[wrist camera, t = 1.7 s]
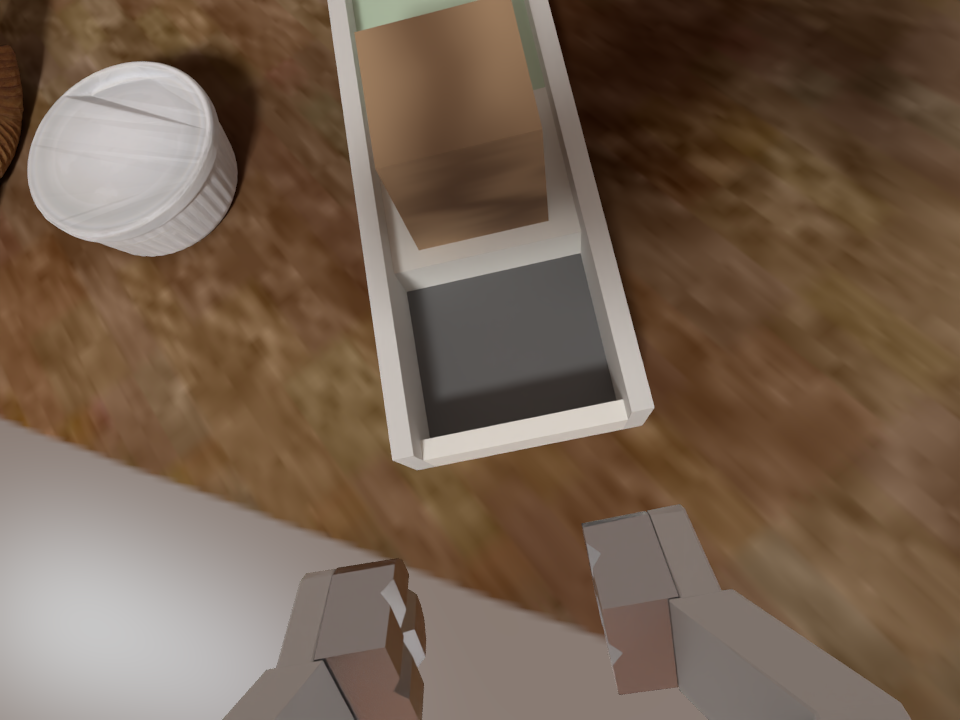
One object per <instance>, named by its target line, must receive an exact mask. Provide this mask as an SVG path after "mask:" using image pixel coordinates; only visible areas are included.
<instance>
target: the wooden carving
mask: <svg viewBox="0 0 960 720" xmlns="http://www.w3.org/2000/svg"><path fill="white" fill-rule="evenodd" d="M23 111H24V109H23V93H22V85H21V80H20V73H19V69H18V64H17V60H16V56H15V52H14V51H13V49H12V48H11V46H10V45H2V46H0V178H1V177H2V176H3V175H4V173H5V172H6V170H7V168H8V167H9V165H10V163H11V161H12V159H13V157H14V155H15V152H16V148H17V145H18V142H19V137H20V132H21V125H22V123H21V121H22V113H23Z"/></svg>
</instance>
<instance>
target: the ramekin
mask: <svg viewBox="0 0 960 720" xmlns="http://www.w3.org/2000/svg"><path fill="white" fill-rule="evenodd" d="M237 174H238V170H237V162H236V159H235V154H234V152H233V150H232V146H231V144H230V142H229V140H228V138H227V136H226V134H225V132H224V130H223V128H222V126H221V125H220V123H219V120H218V117H217V113H216V110H215V108H214V106H213V104H212V102H211V100H210V98H209V97H208V95H207V94H206V92H205V91H204V90H203V89H202V87H201V86H200V85H199V84H198V83H197V82H196V81H195V80H194V79H193V78H192V77H190V76H189V75H188V74H186V73H184V72H183V71H181V70H179V69H177V68H175V67H172V66H169V65H166V64H162V63H157V62H146V61H139V62H128V63H122V64H118V65H114V66H111V67H108V68H105V69H102V70H100V71H98V72H95V73H93V74H92V75H90V76H88V77H86V78H84V79H83V80H81V81H80V82H78V83H77V84H76V85H74V86H73V87H71V88H70V89H69V90H68V91H67V92H66V93H64V94H63V95H62V96H61V97H60V98H59V99H58V100H57V101H56V102H55V103H54V105H53V106H52V107H51V108H50V110H49V111H48V112H47V114H46V115H45V116H44V118H43V120H42V121H41V123H40V125H39V127H38V129H37V131H36V133H35V136H34V138H33V141H32V144H31V148H30V152H29V158H28V184H29V188H30V192H31V195H32V197H33V199H34V202H35V204H36V206H37V207H38V209H39V210H40V212H41V213H42V214H43V216H44V217H45V218H46V219H47V220H48V221H49V222H51V223H52V224H54V225H55V226H56V227H58V228H59V229H61V230H63V231H65V232H66V233H68V234H70V235H72V236H75V237H77V238H80V239H83V240H87V241H92V242H99V243H101V244H104V245H107V246H110V247H113V248H115V249H118V250H121V251H124V252H127V253H130V254H133V255H139V256H152V257H154V256H163V255H167V254H172V253H175V252H177V251H180V250H183V249H185V248H187V247H189V246H192V245H193V244H195V243H197V242H198V241H200V240H201V239H203V238H204V237H206V236H207V235H208V234H209V233H210V232H211V231H212V230H214V228H215V227H216V226H217V225H218V224H219V223H220V222H221V220H222V219H223V218H224V216H225V214H226V213H227V211H228V209H229V207H230V205H231V202H232V200H233V197H234V194H235V191H236V185H237Z"/></svg>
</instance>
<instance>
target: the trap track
mask: <svg viewBox="0 0 960 720" xmlns="http://www.w3.org/2000/svg"><path fill="white" fill-rule="evenodd" d="M474 1H478V0H328V8H329V15H330V22H331V29H332V36H333V43H334V50H335V57H336V64H337V71H338V78H339V85H340V92H341V100H342V107H343V114H344V121H345V128H346V135H347V142H348V149H349V156H350V163H351V170H352V177H353V184H354V192H355V199H356V206H357V213H358V220H359V227H360V234H361V241H362V248H363V255H364V262H365V269H366V276H367V284H368V291H369V298H370V305H371V312H372V319H373V326H374V333H375V340H376V347H377V354H378V361H379V368H380V375H381V383H382V390H383V397H384V404H385V411H386V418H387V425H388V432H389V439H390V446H391V453H392V460H393V461H396V462H398V463H401V464H403V465H406V466H408V467H411V468H413V469H416V470H421V469H426V468H431V467H436V466H441V465H446V464H451V463H456V462H461V461H466V460H471V459H476V458H481V457H486V456H491V455H496V454H501V453H506V452H511V451H516V450H521V449H526V448H531V447H536V446H541V445H546V444H551V443H556V442H561V441H566V440H571V439H576V438H581V437H586V436H592V435H597V434H602V433H607V432H612V431H617V430H622V429H627V428H632V427H637V426H642V425H643V423H644V422H645V421H646V419H647V418H648V416H649V415H650V413H651V412H652V410H653V409H654V404H653V400H652V396H651V393H650V389H649V385H648V381H647V377H646V374H645V370H644V366H643V362H642V358H641V354H640V351H639V347H638V343H637V339H636V335H635V331H634V328H633V324H632V320H631V316H630V312H629V308H628V305H627V301H626V297H625V293H624V289H623V285H622V282H621V278H620V274H619V270H618V266H617V263H616V259H615V255H614V251H613V247H612V243H611V240H610V236H609V232H608V228H607V224H606V220H605V217H604V213H603V209H602V205H601V201H600V197H599V194H598V190H597V186H596V182H595V178H594V174H593V171H592V167H591V163H590V159H589V155H588V152H587V148H586V144H585V140H584V136H583V132H582V129H581V125H580V121H579V117H578V113H577V109H576V106H575V102H574V98H573V94H572V90H571V86H570V83H569V79H568V75H567V71H566V67H565V63H564V60H563V56H562V52H561V48H560V44H559V41H558V37H557V33H556V29H555V25H554V21H553V18H552V14H551V10H550V6H549V2H548V0H511V1H512V5H513V9H514V13H515V17H516V22H517V26H518V30H519V34H520V38H521V42H522V46H523V51H524V55H525V59H526V63H527V67H528V71H529V75H530V80H531V84H532V88H533V92H534V96H535V100H536V104H537V109H538V113H539V117H540V121H541V125H542V130H543V145H544V160H545V174H546V189H547V204H548V219H549V221H546V222H541V223H537V224H533V225H528V226H524V227H519V228H515V229H511V230H506V231H502V232H497V233H493V234H489V235H484V236H480V237H475V238H471V239H467V240H462V241H458V242H454V243H449V244H445V245H440V246H436V247H432V248H427V249H423V250H418V248H417V246H416V244H415V242H414V240H413V238H412V237H411V235H410V233H409V231H408V229H407V227H406V225H405V224H404V222H403V220H402V218H401V216H400V214H399V212H398V211H397V209H396V207H395V205H394V203H393V201H392V199H391V197H390V196H389V194H388V192H387V190H386V188H385V186H384V184H383V183H382V181H381V179H380V177H379V175H378V173H377V171H376V170H375V164H374V158H373V151H372V145H371V138H370V132H369V125H368V119H367V112H366V105H365V99H364V92H363V86H362V79H361V73H360V66H359V60H358V53H357V47H356V40H355V34H354V32H358V31H362V30H365V29H369V28H373V27H377V26H381V25H385V24H389V23H392V22H396V21H400V20H404V19H408V18H412V17H416V16H420V15H423V14H427V13H431V12H435V11H439V10H443V9H447V8H451V7H454V6H458V5H462V4H466V3H470V2H474Z"/></svg>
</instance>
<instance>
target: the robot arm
mask: <svg viewBox="0 0 960 720" xmlns="http://www.w3.org/2000/svg"><path fill="white" fill-rule="evenodd" d="M582 529H583V535H584V540H585V545H586V550H587V554H588V559H589V566H590V570H591V575H592V580H593V585H594V590H595V595H596V600H597V604H598V608H599V613H600V617H601V622H602V626H603V628H604V633H605V637H606V642H607V647H608V652H609V656H610V661H611V664H612V669H613V673H614V677H615V681H616V685H617V690H618V694H619V695H623V694H631V693H638V692H646V691H653V690H661V689H668V688H675V687H679V690H680V691H681V692H682V693H683V694H684V695H685V696H686V697H687V698H688V700H689V701H690V702H692V704H693V705H695V707H696V708H698V710H699V711H700V712H701V713H702V714H703V715H705V717H706V718H707V719H708V720H911V718H910V717H909V715H908V714H907V712H906V710H905V709H904V707H903V706H902V704H901V703H900V702H899V701H898V700H896V699H895V698H893V697H892V696H890V695H889V694H887V693H886V692H884V691H883V690H881V689H880V688H878V687H877V686H875V685H874V684H872V683H871V682H869V681H868V680H866V679H865V678H863V677H862V676H860V675H859V674H858V673H856V672H855V671H853V670H852V669H850V668H849V667H847V666H846V665H844V664H843V663H841V662H840V661H838V660H837V659H835V658H834V657H832V656H831V655H829V654H828V653H826V652H825V651H823V650H822V649H820V648H819V647H817V646H816V645H815V644H813V643H812V642H810V641H809V640H807V639H806V638H804V637H803V636H801V635H800V634H798V633H797V632H795V631H794V630H792V629H791V628H789V627H788V626H786V625H785V624H783V623H782V622H780V621H779V620H777V619H776V618H775V617H773V616H772V615H770V614H769V613H767V612H766V611H764V610H763V609H761V608H760V607H758V606H757V605H755V604H754V603H752V602H751V601H749V600H748V599H746V598H745V597H743V596H742V595H740V594H739V593H737V592H736V591H734V590H733V589H730V590H723V591H722V590H721V588H720V586H719V584H718V581H717V579H716V577H715V575H714V573H713V570H712V568H711V566H710V564H709V561H708V559H707V557H706V555H705V553H704V550H703V548H702V546H701V544H700V542H699V539H698V537H697V535H696V533H695V530H694V528H693V526H692V524H691V522H690V519H689V517H688V515H687V513H686V510H685V508H683V507H682V506H681V505H680V504H679V505H674V506H669V507H664V508H658V509H653V510H648V511H647V512H645V511H644V512H639V513H634V514H628V515H623V516H618V517H613V518H608V519H603V520H598V521H593V522H588V523H582ZM408 578H409V574H408V571H407V569H406V567H405V564H404V562H403V560H402V559H399V558H396V559H390V560H384V561H378V562H371V563H365V564H359V565H353V566H346V567H340V568H337V569H332V570H325V571H319V572H313V573H306V574H305V576H304V577H303V578H302V580H301V581H300V583H299V587H298V590H297V594H296V598H295V601H294V605H293V609H292V612H291V616H290V619H289V623H288V627H287V630H286V634H285V637H284V641H283V645H282V648H281V652H280V655H279V659H278V663H277V666H276V668H274V669H269V670H266V671H265V672H264V674H262V676H261V677H260V678H259V679H258V680H257V681H256V682H255V684H254V685H253V686H252V687H251V688H250V689H249V690H248V691H247V692H246V694H245V695H244V696H243V697H242V698H241V699H240V700H239V701H238V703H237V704H236V705H235V706H234V707H233V708H232V709H231V710H230V712H229V713H228V714H227V715H226V716H225V717H224V719H223V720H422V712H423V693H424V683H423V680H422V678H421V675H420V673H419V671H418V666H419V665H420V663H421V662H422V661H423V659H424V658H425V654H426V634H425V623H424V616H423V612H422V608H421V604H420V602H419V599H418V596H417V594H415V593H414V592H412V591H411V590H409V589H408Z"/></svg>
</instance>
